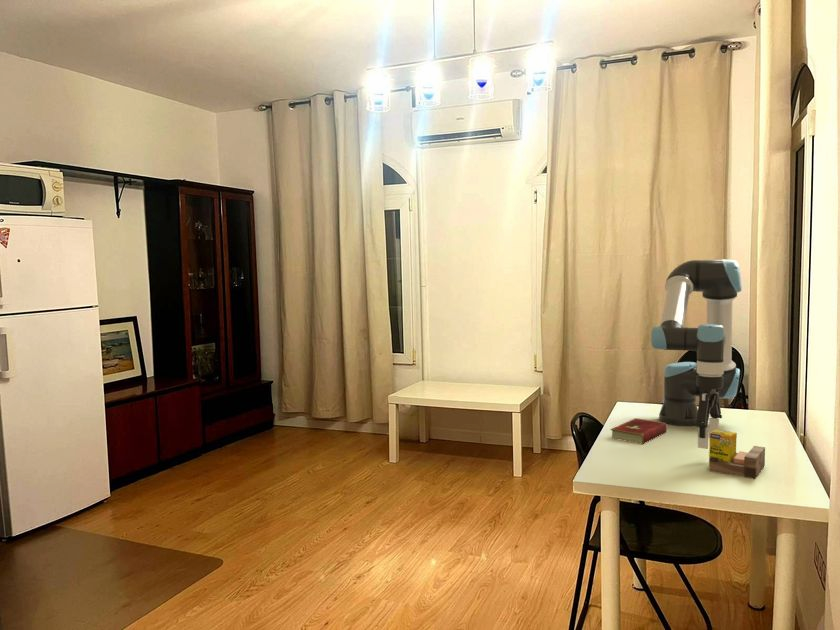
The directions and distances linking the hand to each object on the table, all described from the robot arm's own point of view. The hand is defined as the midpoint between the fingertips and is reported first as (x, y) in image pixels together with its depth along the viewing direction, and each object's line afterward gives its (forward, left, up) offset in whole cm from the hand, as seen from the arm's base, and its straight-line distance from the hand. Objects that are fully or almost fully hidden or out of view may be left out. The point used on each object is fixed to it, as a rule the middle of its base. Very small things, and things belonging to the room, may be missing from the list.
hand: (708, 443), depth 198 cm
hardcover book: (-21, -29, -7) cm, 36 cm away
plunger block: (0, +10, -6) cm, 11 cm away
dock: (0, +8, -7) cm, 11 cm away
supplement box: (+1, +4, -7) cm, 8 cm away
